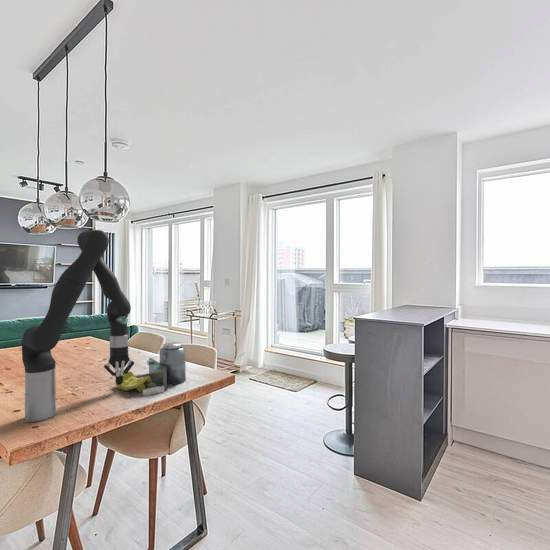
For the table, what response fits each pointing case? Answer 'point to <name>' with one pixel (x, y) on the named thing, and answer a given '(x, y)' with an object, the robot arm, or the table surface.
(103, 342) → the table surface
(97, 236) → the robot arm
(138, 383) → the plastic component
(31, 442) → the table surface
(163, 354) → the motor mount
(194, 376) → the table surface
